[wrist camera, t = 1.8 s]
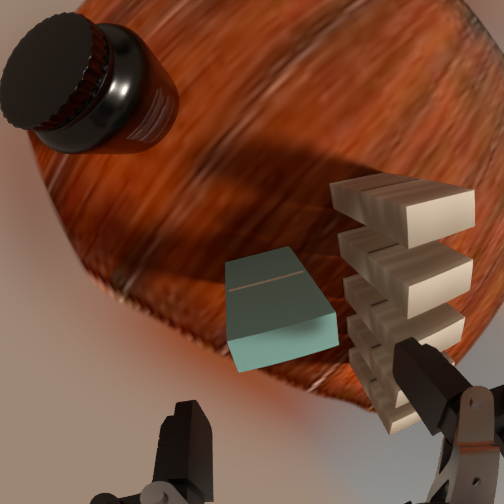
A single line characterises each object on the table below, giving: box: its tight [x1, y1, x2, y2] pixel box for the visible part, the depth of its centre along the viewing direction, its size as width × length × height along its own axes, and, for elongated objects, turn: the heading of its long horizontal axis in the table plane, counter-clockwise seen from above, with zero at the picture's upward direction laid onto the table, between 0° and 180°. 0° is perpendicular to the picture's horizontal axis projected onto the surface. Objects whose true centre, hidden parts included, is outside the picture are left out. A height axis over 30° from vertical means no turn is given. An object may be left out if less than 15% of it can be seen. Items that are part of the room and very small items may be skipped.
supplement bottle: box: [0, 12, 179, 154], centre depth 12 cm, size 7×7×12 cm
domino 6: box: [349, 347, 422, 435], centre depth 21 cm, size 2×5×10 cm, turn 104°
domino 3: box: [337, 226, 473, 319], centre depth 17 cm, size 2×5×10 cm, turn 104°
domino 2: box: [329, 173, 475, 249], centre depth 16 cm, size 2×5×10 cm, turn 104°
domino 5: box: [346, 314, 455, 408], centre depth 20 cm, size 2×5×10 cm, turn 104°
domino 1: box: [225, 246, 339, 372], centre depth 17 cm, size 2×5×10 cm, turn 104°
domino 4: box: [343, 273, 465, 359], centre depth 19 cm, size 2×5×10 cm, turn 104°
